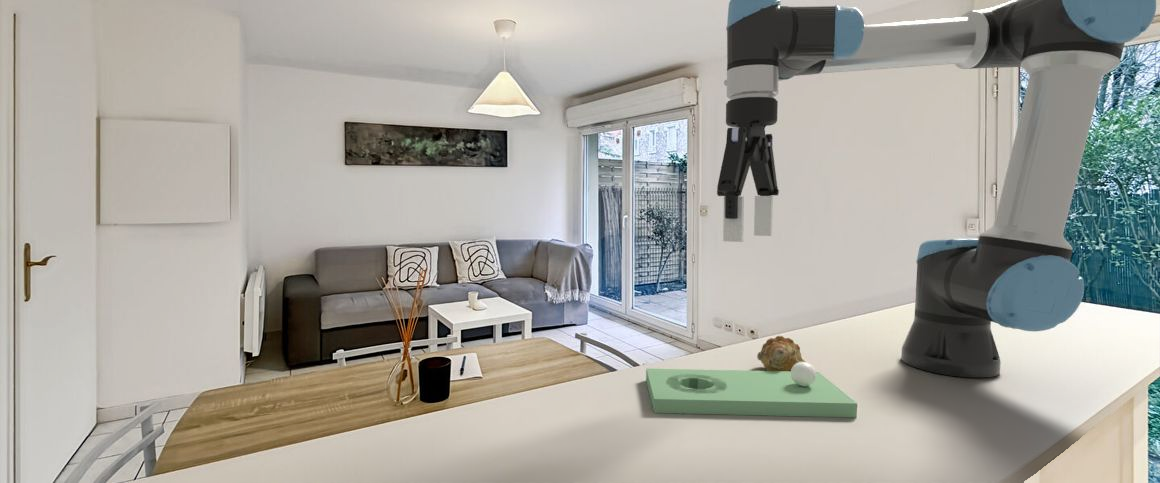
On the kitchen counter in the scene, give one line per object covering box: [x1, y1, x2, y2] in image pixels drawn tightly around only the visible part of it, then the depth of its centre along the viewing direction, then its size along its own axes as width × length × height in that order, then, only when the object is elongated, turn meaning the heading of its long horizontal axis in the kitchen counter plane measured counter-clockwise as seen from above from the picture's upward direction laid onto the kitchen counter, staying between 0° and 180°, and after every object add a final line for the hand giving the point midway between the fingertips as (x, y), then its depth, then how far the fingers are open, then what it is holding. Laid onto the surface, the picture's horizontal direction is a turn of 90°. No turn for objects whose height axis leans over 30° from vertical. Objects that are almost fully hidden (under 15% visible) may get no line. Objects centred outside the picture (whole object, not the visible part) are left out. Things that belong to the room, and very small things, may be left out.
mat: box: [645, 368, 858, 418], centre depth 86 cm, size 28×14×2 cm, turn 88°
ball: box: [790, 361, 817, 386], centre depth 86 cm, size 4×4×4 cm
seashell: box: [756, 335, 806, 371], centre depth 99 cm, size 9×8×10 cm
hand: (748, 238), depth 88 cm, fingers open, 13 cm apart
